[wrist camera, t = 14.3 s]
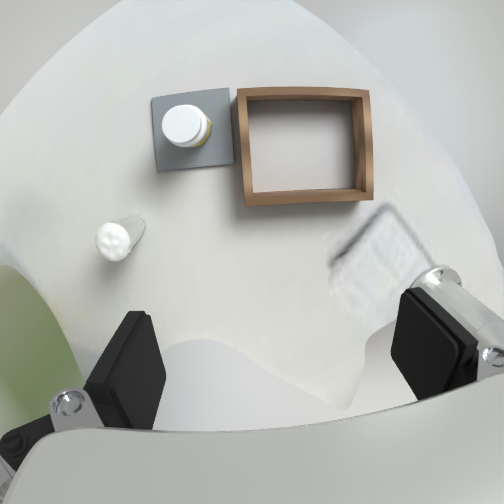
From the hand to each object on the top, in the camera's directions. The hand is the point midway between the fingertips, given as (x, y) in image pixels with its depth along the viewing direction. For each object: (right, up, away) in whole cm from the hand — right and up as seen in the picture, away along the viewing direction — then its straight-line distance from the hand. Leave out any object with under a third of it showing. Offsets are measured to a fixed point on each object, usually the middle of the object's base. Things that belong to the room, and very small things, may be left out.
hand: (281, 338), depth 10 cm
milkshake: (-17, +7, +29) cm, 34 cm away
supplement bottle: (-8, +18, +25) cm, 32 cm away
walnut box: (+6, +17, +26) cm, 32 cm away
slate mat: (-9, +19, +25) cm, 33 cm away
